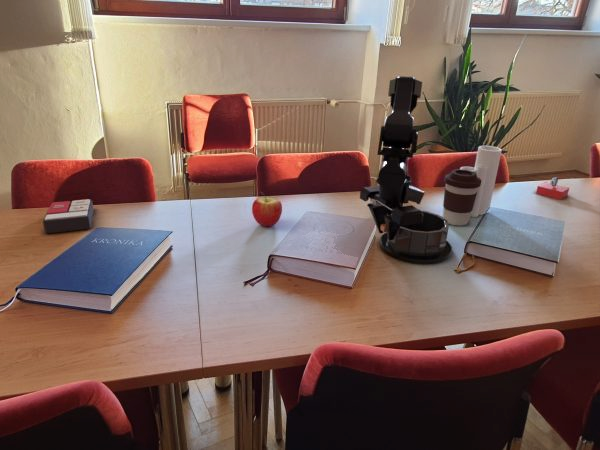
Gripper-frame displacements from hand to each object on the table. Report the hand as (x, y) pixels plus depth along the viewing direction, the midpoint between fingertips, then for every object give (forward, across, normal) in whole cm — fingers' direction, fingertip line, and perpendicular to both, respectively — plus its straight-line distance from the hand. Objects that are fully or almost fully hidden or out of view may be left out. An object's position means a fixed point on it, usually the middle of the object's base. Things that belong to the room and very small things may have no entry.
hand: (385, 236), depth 109 cm
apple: (+5, +27, +22) cm, 35 cm away
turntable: (+5, 0, -9) cm, 10 cm away
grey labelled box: (+5, +48, +73) cm, 87 cm away
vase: (+5, +14, -41) cm, 44 cm away
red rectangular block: (+5, +17, -80) cm, 82 cm away
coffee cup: (+5, +10, -31) cm, 33 cm away
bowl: (+3, 0, -8) cm, 9 cm away
